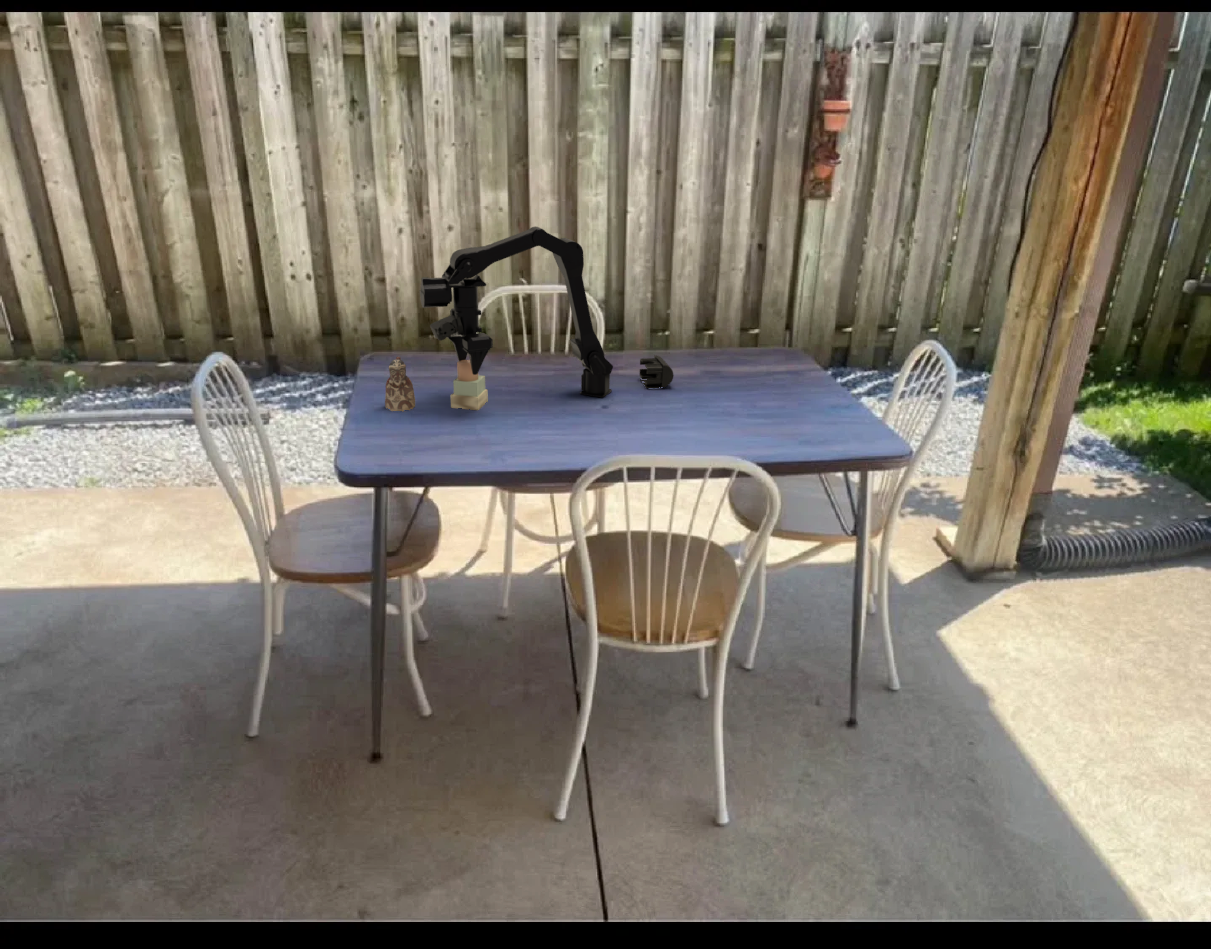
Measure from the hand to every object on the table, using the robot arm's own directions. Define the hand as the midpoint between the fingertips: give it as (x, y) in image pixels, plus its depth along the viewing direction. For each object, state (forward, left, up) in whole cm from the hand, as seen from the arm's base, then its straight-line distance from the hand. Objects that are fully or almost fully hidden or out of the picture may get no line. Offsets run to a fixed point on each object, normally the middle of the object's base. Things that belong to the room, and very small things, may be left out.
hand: (468, 369), depth 212 cm
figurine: (+14, +9, -9) cm, 19 cm away
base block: (0, 0, -9) cm, 9 cm away
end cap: (-35, -38, -9) cm, 52 cm away
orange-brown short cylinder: (0, 0, -2) cm, 2 cm away
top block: (0, 0, -6) cm, 6 cm away
